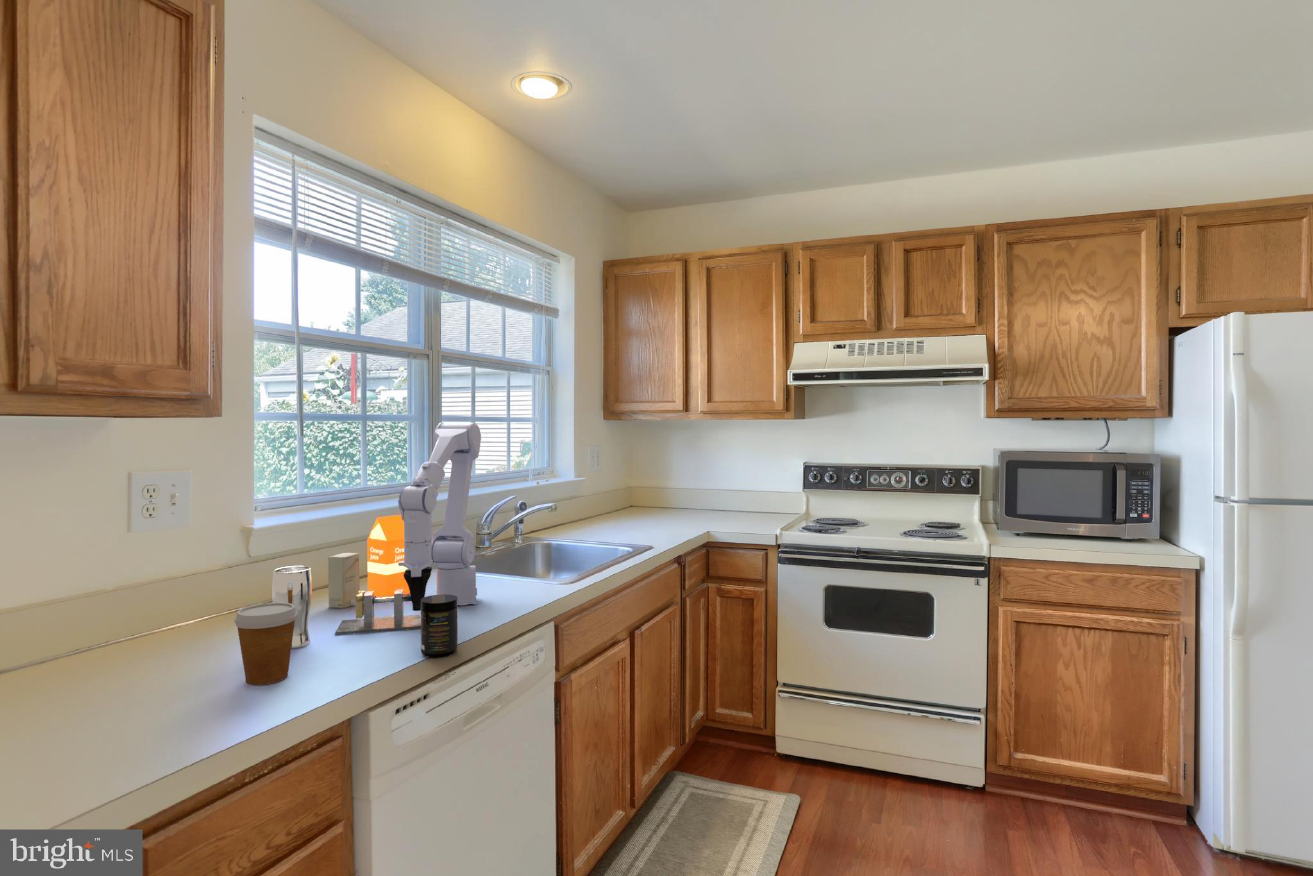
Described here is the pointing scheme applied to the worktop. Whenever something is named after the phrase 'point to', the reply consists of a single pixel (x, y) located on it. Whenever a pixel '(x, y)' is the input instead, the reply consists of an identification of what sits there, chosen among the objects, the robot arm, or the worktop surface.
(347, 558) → the skincare box
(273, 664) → the disposable coffee cup
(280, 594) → the beer glass
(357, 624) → the bracket
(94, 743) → the worktop surface
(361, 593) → the block
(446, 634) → the supplement container
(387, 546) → the orange juice
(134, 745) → the worktop surface
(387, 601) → the shaft
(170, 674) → the worktop surface
